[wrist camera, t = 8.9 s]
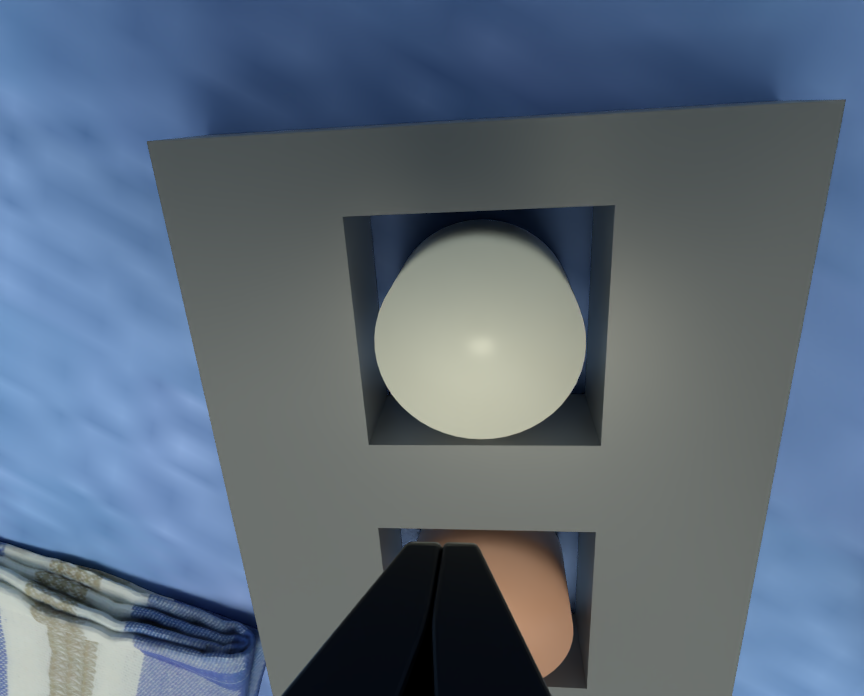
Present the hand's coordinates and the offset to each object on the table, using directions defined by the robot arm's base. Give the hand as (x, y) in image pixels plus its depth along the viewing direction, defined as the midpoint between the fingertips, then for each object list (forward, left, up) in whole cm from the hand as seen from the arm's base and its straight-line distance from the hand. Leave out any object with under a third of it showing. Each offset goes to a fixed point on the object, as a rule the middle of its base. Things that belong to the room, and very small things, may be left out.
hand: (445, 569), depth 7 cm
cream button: (0, 0, -10) cm, 10 cm away
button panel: (0, +9, -11) cm, 14 cm away
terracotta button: (0, +9, -10) cm, 14 cm away
